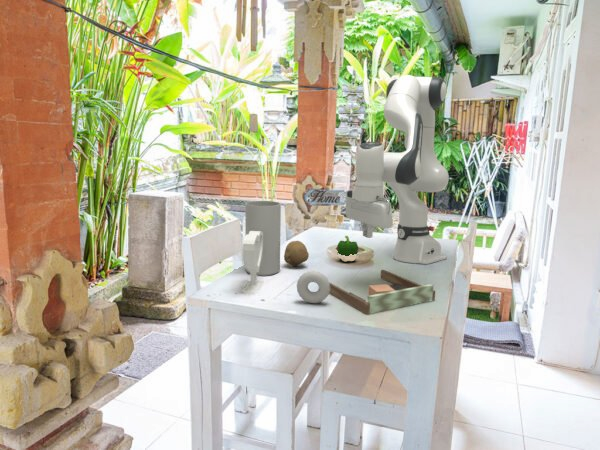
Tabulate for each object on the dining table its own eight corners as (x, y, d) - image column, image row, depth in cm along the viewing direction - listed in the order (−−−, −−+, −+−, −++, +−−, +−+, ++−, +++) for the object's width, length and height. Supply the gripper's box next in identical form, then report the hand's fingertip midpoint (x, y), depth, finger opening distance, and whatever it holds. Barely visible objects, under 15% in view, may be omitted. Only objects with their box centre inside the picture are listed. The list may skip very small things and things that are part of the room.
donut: (295, 303, 137) (296, 271, 135) (297, 299, 140) (297, 268, 138) (328, 306, 135) (330, 273, 133) (330, 302, 139) (331, 270, 137)
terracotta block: (385, 296, 145) (386, 284, 145) (394, 302, 140) (395, 290, 139) (368, 297, 144) (368, 285, 143) (376, 304, 138) (376, 291, 137)
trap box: (382, 277, 163) (383, 264, 162) (434, 300, 142) (435, 284, 141) (320, 288, 151) (320, 273, 150) (366, 314, 130) (367, 297, 129)
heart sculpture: (256, 295, 143) (256, 238, 140) (240, 294, 144) (240, 238, 140) (265, 279, 159) (265, 228, 155) (250, 279, 159) (250, 228, 156)
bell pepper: (356, 264, 179) (357, 239, 177) (335, 263, 181) (336, 238, 179) (358, 259, 187) (359, 235, 185) (338, 257, 189) (339, 234, 187)
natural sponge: (312, 265, 177) (313, 240, 175) (300, 271, 169) (301, 244, 167) (292, 262, 181) (292, 237, 179) (280, 267, 174) (280, 241, 172)
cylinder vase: (281, 275, 164) (282, 206, 159) (246, 276, 161) (246, 206, 157) (277, 265, 176) (278, 200, 171) (244, 266, 174) (244, 201, 169)
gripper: (398, 198, 138) (396, 242, 141) (358, 189, 156) (357, 229, 159) (382, 199, 135) (380, 245, 138) (342, 191, 153) (341, 231, 156)
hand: (367, 236), depth 149 cm, fingers closed
